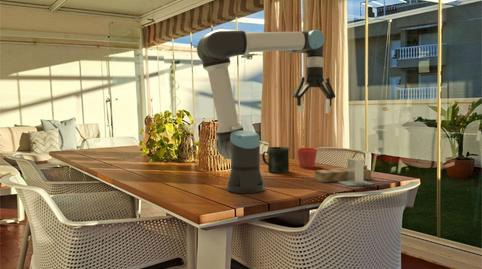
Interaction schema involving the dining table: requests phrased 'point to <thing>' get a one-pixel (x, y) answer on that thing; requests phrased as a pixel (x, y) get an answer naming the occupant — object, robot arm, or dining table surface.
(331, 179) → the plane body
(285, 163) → the mug
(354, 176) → the white rectangular block
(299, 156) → the flower pot
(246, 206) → the dining table surface
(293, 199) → the dining table surface
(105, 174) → the dining table surface
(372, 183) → the mat
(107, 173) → the dining table surface
